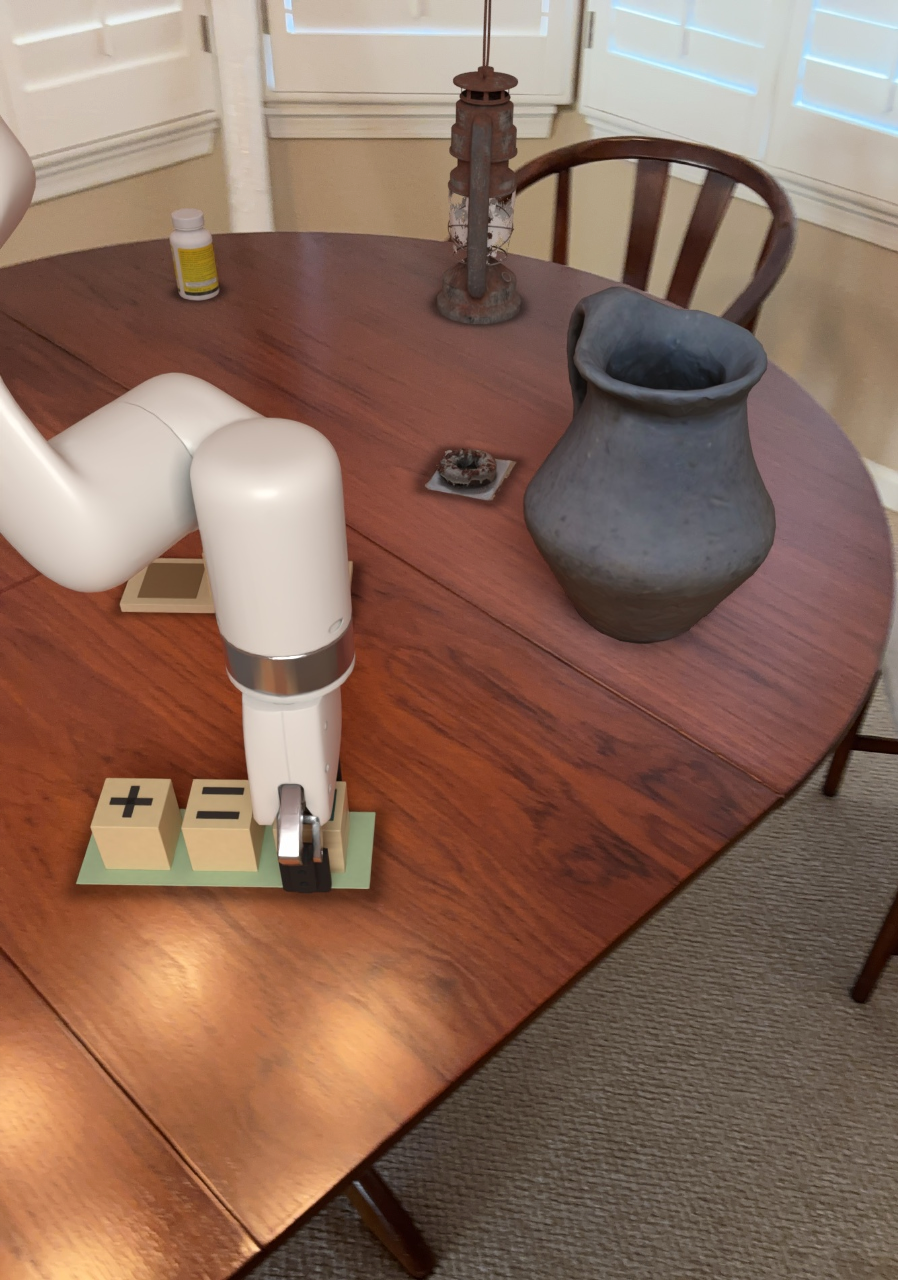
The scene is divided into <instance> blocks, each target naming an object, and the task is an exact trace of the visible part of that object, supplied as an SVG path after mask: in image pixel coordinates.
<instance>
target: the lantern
mask: <svg viewBox="0 0 898 1280" xmlns="http://www.w3.org/2000/svg"><path fill="white" fill-rule="evenodd" d="M483 5H484V6H483V31H482V34H483V36H482V65H481V66H478V67H477V71H476V70H474V71H468V72H462V73H459V74H456V75H455V76H454V77H452V84H453V85H454V86H456V87H458V88H460V93H459V96H458V97H459V99H458V100H456V102H455V123H453V124H452V125H451V127H450V145H449V148H448V149H449V151H448V152H449V154H450V155H451V156H452V157H453V158H455V159H457V161H456V162H457V163H456V166H455V167H454V168H452V169H451V170H450V172H449V180H448V182H447V188H448V201H449V212H448V218H449V219H448V222H447V233H448V235H449V237H450V239H451V241H452V242H453V243H455V244H453V250H452V251H453V252H452V257H453V259H454V260H455V261H456V262H457V263H455V264H454V265H452V266H451V267H449V268H447V269H446V270H445V271H444V272H443V274H442V290H440V292H438V294H437V297H436V309H437V311H438V313H440V315H441V316H444V317H445V318H447V319H450V320H451V321H454V322H458V323H463V324H470V325H492V324H498V323H502V322H506V321H508V320H511V319H513V318H514V317H516V316H517V315H518V314H519V312H520V311H521V308H522V300H521V299H522V298H521V296H520V295H519V293H518V292H517V275H516V273H515V272H514V271H513V270H511V269H510V268H508V267H507V266H505V265H504V264H503V263H504V262H505V261H506V260H507V258H508V250H509V249H508V247H510V242H511V238H512V234H513V231H514V230H515V228H514V212H515V205H516V195H517V188H518V184H517V182H516V172H515V171H514V170H513V169H511V168H510V167H509V166H510V165H509V164H510V160H512V159H514V158H516V157H517V155H518V152H519V151H518V147H517V139H518V138H517V136H518V135H517V134H518V128H517V126H516V125H515V124H514V111H515V109H514V108H515V104H514V102H513V101H512V100H511V97H512V96H511V94H510V90H511V89H514V88H516V87H517V86H518V84H519V79H518V78H517V77H516V76H514V75H512V74H509V73H505V72H500V71H495V67H494V66H491V65H490V54H491V53H490V52H491V30H492V29H491V28H492V27H491V26H492V24H491V23H492V0H484V4H483ZM454 194H456V195H458V196H461V197H462V198H461V203H455V204H454V203H453V202H452V199H453V195H454ZM511 194H512V195H511ZM509 195H511V197H510V199H508V197H507V196H509ZM502 197H507V198H506V199H507V203H506V204H505V202H504V200H502V201H498V198H502ZM458 199H459V200H460V198H458ZM456 237H457V239H456ZM499 240H501V241H499ZM458 242H459V243H458ZM461 243H462V244H461ZM498 243H500V245H499V244H498ZM505 245H507V247H506V246H505ZM457 246H458V247H457ZM504 246H505V248H506V249H504V248H502V247H504ZM493 248H494V249H493ZM459 250H463V251H465V252H466V256H465V257H464V258H462V259H458V258H457V257H456V256H455V255H456V254H457V253H458V252H459ZM498 250H499V251H502V252H503V253H504V255H505V256H504V258H503V259H502V258H500V259H499V261H498V260H497V259H496V258H497V252H498Z"/></svg>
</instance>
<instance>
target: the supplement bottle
mask: <svg viewBox="0 0 898 1280" xmlns="http://www.w3.org/2000/svg"><path fill="white" fill-rule="evenodd" d="M170 217H171V223H172V227H173V229H174V230H172V231H171V233H170V234H169V245H170V250H171V257H172V263H173V264H172V265H173V269H174V275H175V282H176V286H177V287H176V288H177V290H178V294H179V296H180V297H181V298H182V299H185V300H187V301H188V300H189V301H206V300H209V299H213V298H215V297H216V296H217V295H219V293H220V284H219V276H218V268H217V263H216V255H215V249H214V248H215V247H214V242H213V241H214V240H213V236H212V233H211V232H210V231H209V230H208V229H207V228H205V227H204V226H205V217H204V212H203V211H202V209H198V208H193V207H187V208H186V207H185V208H179V209H176V210H173V211H172V212H171V214H170Z"/></svg>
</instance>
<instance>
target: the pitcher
mask: <svg viewBox="0 0 898 1280" xmlns="http://www.w3.org/2000/svg"><path fill="white" fill-rule="evenodd" d="M566 334H567V335H566V360H567V372H568V382H569V385H570V390H571V397H572V403H573V404H572V420H571V421H570V423H569V425H568V426H567V428H566V429H565V432H563V434H562V435H561V437H560V438H559V440H558V441H557V442H556V443H555V445H554V447H552V449H551V451H550V452H549V453H548V455H547V456H546V458H545V459H544V460H543V462H542V463H541V465H539V467H538V469H537V471H536V472H535V473H534V475H533V476H532V478H531V479H530V481H529V483H528V484H527V487H526V489H525V491H524V493H523V501H522V513H523V520H524V524H525V528H526V529H527V532H528V534H529V535H530V537H531V540H532V541H533V544H534V545H535V547H536V550H537V551H538V552H539V554H540V555H541V557H542V559H543V560H544V561H545V563H546V565H547V566H548V568H549V570H550V571H551V572H552V574H553V576H554V577H555V579H556V581H557V583H558V584H559V586H560V587H561V588H562V589H563V591H564V592H565V594H566V596H567V597H568V599H569V600H570V601H571V603H572V604H573V606H574V608H575V610H576V612H577V614H578V615H579V616H580V617H581V618H582V619H583V620H584V621H586V623H587V624H589V625H590V626H591V627H592V628H593V629H595V631H597V632H598V633H599V634H603V635H605V636H608V637H610V638H612V639H614V640H617V641H619V642H623V643H624V642H625V643H629V644H643V645H645V644H652V643H653V644H654V643H659V642H664V641H668V640H670V639H672V638H675V637H677V636H679V635H682V634H684V633H687V632H688V631H689V630H691V629H692V628H693V627H694V626H696V624H698V622H700V621H701V620H702V619H703V618H705V617H706V616H708V615H710V614H711V613H712V612H713V611H714V610H715V609H716V608H717V607H718V606H719V605H720V604H721V603H722V602H723V601H725V600H726V599H727V598H728V597H729V596H731V595H732V594H733V593H734V592H735V591H736V590H737V589H738V588H740V586H742V585H743V584H744V583H746V581H747V580H749V579H750V578H751V577H753V576H754V575H755V573H756V572H757V571H758V570H759V568H760V567H761V566H762V565H763V563H764V562H765V561H766V559H767V558H768V556H769V554H770V551H771V549H772V547H773V545H774V542H775V536H776V530H777V519H776V508H775V504H774V502H773V499H772V496H771V495H770V493H769V491H768V489H767V486H766V485H765V482H764V480H763V477H762V475H761V472H760V470H759V468H758V465H757V462H756V460H755V457H754V451H753V447H752V441H751V437H750V430H749V429H750V427H749V420H748V419H749V418H748V417H749V416H748V415H749V414H748V398H749V394H750V392H751V391H752V389H753V388H754V387H755V386H756V385H757V384H759V382H760V381H761V379H762V377H763V376H764V375H765V373H766V371H767V370H768V364H769V363H768V354H767V352H766V350H765V348H764V345H763V344H762V342H760V341H759V340H758V338H756V336H755V335H753V333H752V332H751V331H750V330H748V329H746V328H745V327H743V326H742V325H739V324H737V323H734V322H733V321H731V320H728V319H726V318H723V317H721V316H718V315H715V314H712V313H710V312H707V311H704V310H699V309H682V308H677V307H672V306H670V305H668V304H665V303H662V302H661V301H660V302H659V301H657V300H655V299H652V298H649V297H648V296H646V295H644V294H642V293H641V292H638V291H636V290H634V289H632V288H630V287H625V286H610V287H608V288H605V289H602V290H599V291H597V292H595V293H592V294H589V295H587V296H585V297H583V298H581V299H580V300H579V301H578V302H577V304H576V305H575V307H574V308H573V310H572V312H571V315H570V318H569V323H568V329H567V333H566Z"/></svg>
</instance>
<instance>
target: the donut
mask: <svg viewBox="0 0 898 1280" xmlns="http://www.w3.org/2000/svg"><path fill="white" fill-rule="evenodd" d="M444 453H445V454H444V455H443V456H442V457H441V459H440V461H439V463H438V464H436V465H435V467H436V470H435V472H434V473H433V474H432V477H431V478H430V479H429V481H428V482H426V483H425V484H424V487H425V488H426V490H429V491H437V492H442V493H446V494H451V495H455V496H461V497H466V498H472V499H477V500H483V501H487V502H488V501H493V500H494V497H496V495H495V494H496V493H497V492H500V491H501V488H499V487H500V486H502V485H503V483H504V480H505V479H508V477H509V476H510V474H511V472H512V470H513V469H514V467H515V465H516V464H517V461H514V460H510V459H500V458H494V457H493V455H492V454H490V453H489V452H487V451H485V450H481V449H478V448H477V449H475V448H471V449H470V448H464V447H462V448H460V449H456V450H451V449H447V450H445V451H444ZM456 485H459V486H456ZM497 490H498V491H497Z"/></svg>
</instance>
